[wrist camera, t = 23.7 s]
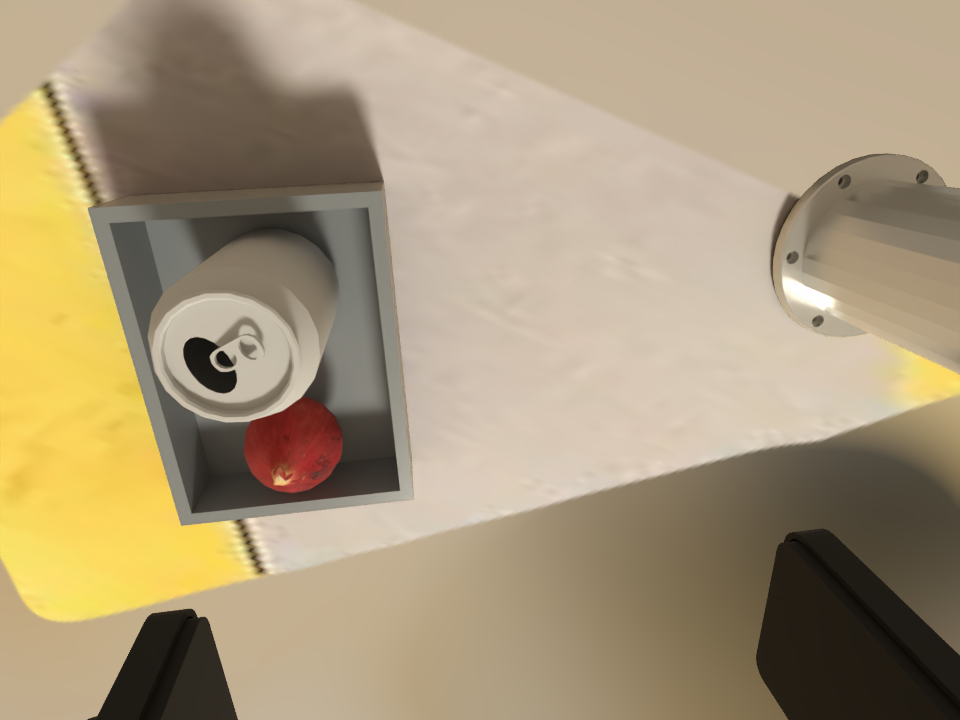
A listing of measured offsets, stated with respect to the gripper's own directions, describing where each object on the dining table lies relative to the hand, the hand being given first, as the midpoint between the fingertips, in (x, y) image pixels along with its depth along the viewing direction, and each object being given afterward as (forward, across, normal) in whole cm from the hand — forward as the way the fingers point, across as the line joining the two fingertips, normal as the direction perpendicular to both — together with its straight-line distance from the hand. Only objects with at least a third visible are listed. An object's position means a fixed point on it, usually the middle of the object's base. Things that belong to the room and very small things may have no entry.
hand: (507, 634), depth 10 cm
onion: (+30, +9, +10) cm, 33 cm away
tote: (+30, +10, +6) cm, 32 cm away
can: (+30, +9, +2) cm, 31 cm away
